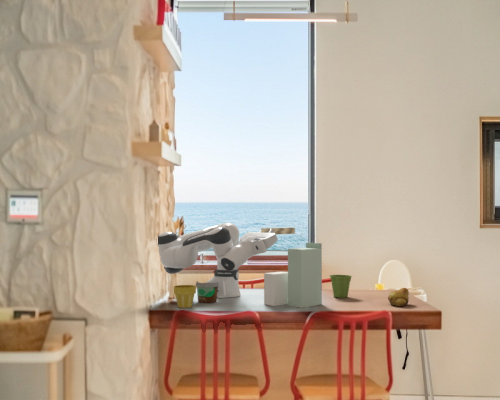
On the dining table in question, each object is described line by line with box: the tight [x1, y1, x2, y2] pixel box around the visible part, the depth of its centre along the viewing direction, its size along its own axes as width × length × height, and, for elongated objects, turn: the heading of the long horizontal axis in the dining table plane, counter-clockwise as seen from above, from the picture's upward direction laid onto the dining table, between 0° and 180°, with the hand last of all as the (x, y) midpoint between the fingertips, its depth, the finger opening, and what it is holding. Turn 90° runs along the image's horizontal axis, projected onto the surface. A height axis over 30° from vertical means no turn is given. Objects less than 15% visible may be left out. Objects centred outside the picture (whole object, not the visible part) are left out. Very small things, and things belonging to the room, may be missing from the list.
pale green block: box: [287, 242, 323, 309], centre depth 248 cm, size 14×9×30 cm, turn 130°
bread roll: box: [387, 287, 410, 307], centre depth 247 cm, size 13×10×8 cm
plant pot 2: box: [329, 274, 353, 299], centre depth 271 cm, size 12×12×11 cm
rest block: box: [263, 271, 288, 307], centre depth 251 cm, size 12×7×15 cm, turn 130°
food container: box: [195, 281, 219, 304], centre depth 254 cm, size 12×6×10 cm, turn 70°
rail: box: [260, 227, 296, 235], centre depth 249 cm, size 20×3×3 cm, turn 131°
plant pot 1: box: [173, 284, 197, 309], centre depth 243 cm, size 10×10×10 cm
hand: (269, 230), depth 245 cm, fingers closed on rail, 3 cm apart
